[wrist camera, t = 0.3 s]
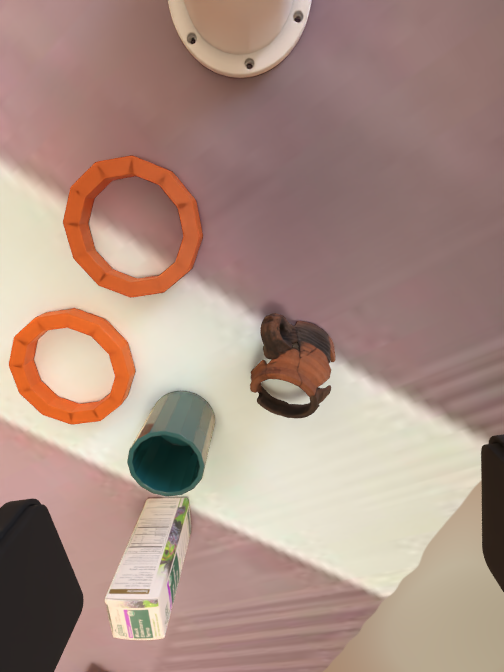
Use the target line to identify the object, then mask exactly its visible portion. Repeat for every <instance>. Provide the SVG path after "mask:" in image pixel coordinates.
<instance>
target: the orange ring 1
mask: <svg viewBox="0 0 504 672" xmlns="http://www.w3.org/2000/svg"><path fill="white" fill-rule="evenodd" d="M134 176H138V177H140V178H143V179H145V180H148V181H150V182H153V183H155V184H158V185H159V186H160V187H161V188H162V189H163V191H164V192H165V193H166V194H167V195H168V197H169V198H170V199H171V200H172V202H173V203H174V204H175V205H176V206H177V208H178V212H179V216H180V221H181V226H182V231H183V240H182V243H181V246H180V249H179V252H178V255H177V259H176V262H175V263H173V264H172V265H171V266H170V267H169V268H168V269H166V270H165V271H164V272H163V273H162V274H161V275H158V276H152V277H145V278H139V279H137V278H134V277H131V276H129V275H126V274H123V273H121V272H118V271H116V270H113V269H112V268H111V267H110V266H109V264H108V263H107V262H106V261H105V260H104V259H103V258H102V257H101V256H100V255H99V253H98V252H97V251H96V250H95V247H94V243H93V240H92V236H91V233H90V229H89V225H88V223H89V218H90V214H91V210H92V206H93V202H94V198H95V197H96V196H97V195H98V194H99V193H100V192H101V191H102V190H103V189H104V188H105V187H106V186H107V185H108V184H109V183H110V182H111V181H113V180H117V179H123V178H128V177H134ZM63 224H64V228H65V231H66V235H67V238H68V241H69V245H70V248H71V252H72V255H73V258H74V259H75V261H76V262H77V263H78V264H79V265H80V266H81V267H82V268H83V269H84V270H85V271H86V272H87V274H88V275H89V276H90V277H91V278H92V279H93V280H94V281H95V282H96V283H97V284H98V285H99V286H101V287H104V288H107V289H109V290H112V291H115V292H117V293H120V294H123V295H125V296H128V297H138V296H144V295H151V294H157V293H163V292H165V291H166V290H167V289H169V288H170V287H171V286H172V285H173V284H174V283H176V282H177V281H178V280H179V279H180V278H182V277H183V276H184V275H185V274H186V273H188V272H189V271H190V270H191V269H192V268H193V265H194V262H195V259H196V256H197V253H198V250H199V247H200V244H201V241H202V238H203V234H202V229H201V223H200V218H199V213H198V208H197V202H196V200H195V199H194V198H193V196H192V195H191V194H190V193H189V191H188V190H187V189H186V188H185V186H184V185H183V184H182V183H181V181H180V180H179V179H178V178H177V176H176V175H175V174H174V173H173V172H172V171H170V170H167V169H165V168H162V167H160V166H157V165H155V164H152V163H150V162H147V161H145V160H142V159H140V158H137V157H135V156H126V157H121V158H115V159H110V160H104V161H99V162H95V163H94V164H93V165H92V166H91V167H90V168H89V169H88V170H87V171H86V172H85V173H84V174H83V175H82V176H81V177H80V178H79V179H78V180H77V181H76V182H75V183H74V184H73V185H72V186H71V188H70V192H69V197H68V201H67V206H66V211H65V215H64V220H63Z"/></svg>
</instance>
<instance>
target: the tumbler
mask: <svg viewBox="0 0 504 672" xmlns="http://www.w3.org/2000/svg"><path fill="white" fill-rule="evenodd" d="M214 425H215V417H214V413H213V410H212V408H211V407H210V405H209V404H208V403H207V402H206V401H205V400H204V399H203V398H202V397H200V396H199V395H197V394H194V393H191V392H187V391H175V392H171V393H168V394H166V395H164V396H163V397H162V398H160V399H159V400H158V402H157V403H156V404H155V406H154V407H153V409H152V411H151V412H150V414H149V416H148V418H147V419H146V421H145V423H144V425H143V427H142V428H141V430H140V432H139V434H138V435H137V437H136V439H135V441H134V443H133V444H132V446H131V448H130V450H129V455H128V461H127V462H128V466H129V470H130V473H131V476H132V477H133V478H134V479H135V480H136V482H137V483H138V484H139V485H140V486H141V487H143V488H145V489H146V490H148V491H150V492H151V493H154V494H158V495H163V496H176V495H182V494H184V493H186V492H188V491H190V490H192V489H194V488H195V486H196V485H197V484H198V483H199V482H200V480H201V479H202V476H203V472H204V468H205V463H206V459H207V455H208V451H209V446H210V442H211V438H212V434H213V429H214Z"/></svg>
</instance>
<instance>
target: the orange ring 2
mask: <svg viewBox="0 0 504 672" xmlns="http://www.w3.org/2000/svg"><path fill="white" fill-rule="evenodd" d="M66 327H68V328H70V329H73V330H76V331H79V332H81V333H84V334H87V335H90V336H92V337H93V338H94V339H95V340H96V341H97V343H98V344H99V345H100V346H101V347H102V348H103V349H104V350H105V351H106V352H107V353H108V354H109V356H110V360H111V363H112V366H113V370H114V373H115V380H114V383H113V386H112V390H111V393H110V394H109V395H107V396H106V397H105V398H104V399H102V400H101V401H98V402H90V403H83V404H78V403H75V402H72V401H69V400H67V399H64V398H61V397H58V396H57V395H56V394H55V393H54V392H53V391H51V390H50V389H49V388H48V387H47V386H46V385H45V384H44V383H43V382H42V381H41V379H40V377H39V374H38V371H37V368H36V365H35V363H34V360H33V359H34V355H35V350H36V345H37V341H38V339H39V338H40V337H41V336H42V335H43V334H44V333H46V332H47V331H48V330H53V329H60V328H66ZM9 367H10V370H11V372H12V375H13V377H14V380H15V383H16V385H17V388H18V391H19V393H20V394H21V395H22V396H23V397H24V398H25V399H26V400H27V401H28V402H29V403H30V404H32V405H33V406H34V407H35V408H36V409H37V410H38V411H39V412H40V413H41V414H43V415H45V416H48V417H51V418H54V419H57V420H60V421H63V422H66V423H68V424H80V423H88V422H96V421H101V420H102V419H104V418H105V417H106V416H107V415H109V414H110V413H111V412H112V411H114V410H115V409H116V408H118V407H119V406H120V405H121V404H122V403H123V402H124V400H125V399H126V398H127V396H128V393H129V390H130V387H131V384H132V381H133V377H134V374H135V367H134V364H133V360H132V356H131V353H130V349H129V345H128V342H127V341H126V340H125V339H124V338H123V337H122V336H121V335H120V334H119V333H118V332H117V331H116V330H115V329H114V327H113V326H112V325H111V324H110V323H109V322H108V321H107V320H106V319H103V318H100V317H98V316H95V315H92V314H90V313H87V312H84V311H81V310H79V309H75V308H73V309H67V310H60V311H54V312H47V313H44V314H42V315H40V316H38V317H36V318H34V319H33V320H32V321H31V322H30V323H29V324H28V325H27V326H26V327H25V328H23V329H22V330H21V331H20V332H19V333H18V334H17V335H16V336H15V337H14V340H13V346H12V351H11V356H10V361H9Z"/></svg>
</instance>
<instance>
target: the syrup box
mask: <svg viewBox="0 0 504 672" xmlns="http://www.w3.org/2000/svg"><path fill="white" fill-rule="evenodd" d="M190 534H191V517H190V509H189V502H188V498H187V497H181V498H149V499H147V500H146V502H145V505H144V507H143V510H142V512H141V514H140V516H139V519H138V521H137V523H136V526H135V528H134V531H133V533H132V535H131V538H130V540H129V542H128V545H127V547H126V550H125V552H124V554H123V557H122V559H121V561H120V564H119V566H118V568H117V571H116V573H115V575H114V578H113V580H112V583H111V585H110V587H109V590H108V592H107V594H106V597H105V599H104V600H105V603H106V605H107V611H108V618H109V622H110V626H111V630H112V635H113V637H114V638H121V639H129V640H154V639H162V638H164V637H165V634H166V630H167V626H168V622H169V618H170V614H171V610H172V606H173V602H174V598H175V594H176V591H177V587H178V583H179V579H180V575H181V571H182V567H183V563H184V559H185V555H186V551H187V547H188V543H189V538H190Z"/></svg>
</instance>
